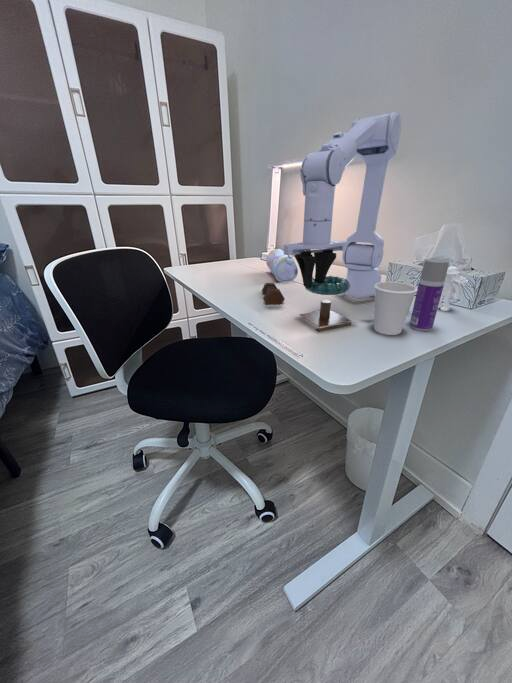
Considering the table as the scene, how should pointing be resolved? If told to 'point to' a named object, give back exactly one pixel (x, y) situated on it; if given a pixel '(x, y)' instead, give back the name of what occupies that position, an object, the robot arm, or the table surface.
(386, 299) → the dixie cup
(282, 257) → the pencil case
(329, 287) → the ring
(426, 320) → the container
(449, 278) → the hat wearing toy figure
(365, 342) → the table surface
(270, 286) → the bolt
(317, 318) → the post
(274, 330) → the table surface
